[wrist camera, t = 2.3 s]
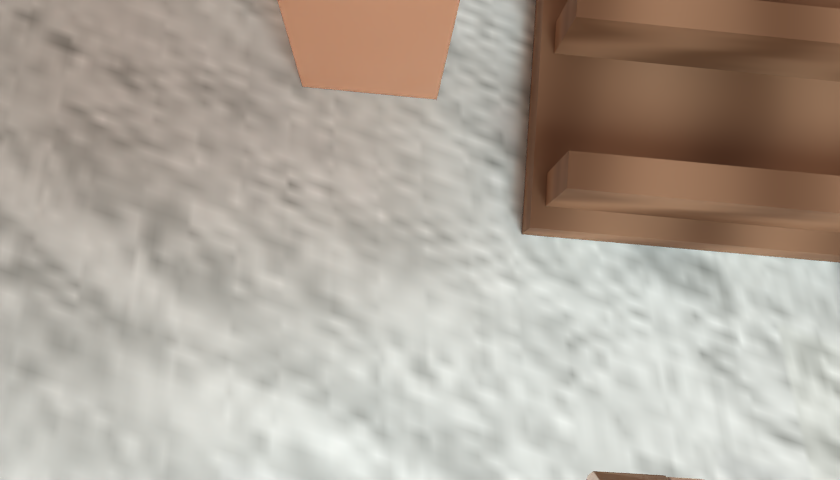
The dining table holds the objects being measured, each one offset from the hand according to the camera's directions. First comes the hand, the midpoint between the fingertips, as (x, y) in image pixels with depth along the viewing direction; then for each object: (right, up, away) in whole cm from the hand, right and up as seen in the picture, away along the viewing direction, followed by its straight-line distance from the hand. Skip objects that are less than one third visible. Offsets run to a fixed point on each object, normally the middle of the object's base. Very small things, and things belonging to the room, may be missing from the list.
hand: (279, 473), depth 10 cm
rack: (+13, +10, +19) cm, 25 cm away
